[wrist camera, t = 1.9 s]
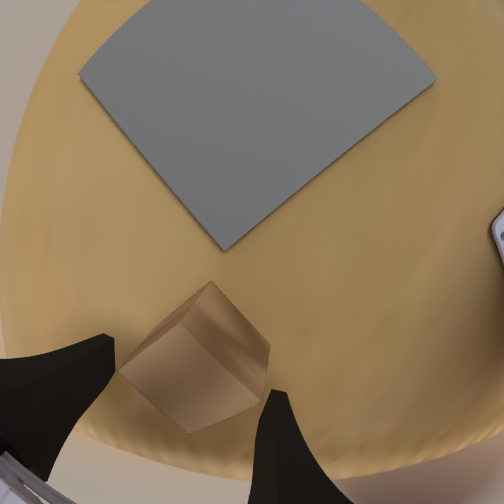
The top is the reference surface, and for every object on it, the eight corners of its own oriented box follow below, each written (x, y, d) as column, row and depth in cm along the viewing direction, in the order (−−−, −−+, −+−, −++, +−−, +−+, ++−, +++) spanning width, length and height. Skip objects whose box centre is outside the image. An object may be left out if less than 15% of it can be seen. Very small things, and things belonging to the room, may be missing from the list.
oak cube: (270, 343, 15) (262, 402, 10) (210, 379, 16) (188, 434, 11) (212, 280, 14) (179, 322, 10) (156, 325, 15) (117, 370, 11)
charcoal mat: (433, 81, 10) (437, 79, 10) (226, 249, 13) (224, 251, 13) (255, -58, 9) (254, -63, 8) (82, 75, 12) (77, 73, 12)
